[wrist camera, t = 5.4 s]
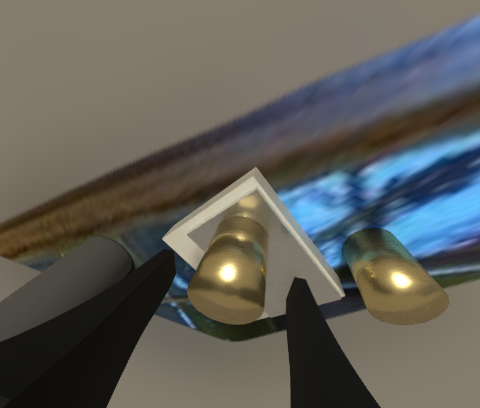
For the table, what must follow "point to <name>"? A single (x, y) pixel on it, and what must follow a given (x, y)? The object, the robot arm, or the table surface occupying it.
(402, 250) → the cylinder
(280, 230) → the scale pan
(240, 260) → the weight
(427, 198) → the table surface
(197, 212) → the scale
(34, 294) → the bottle
